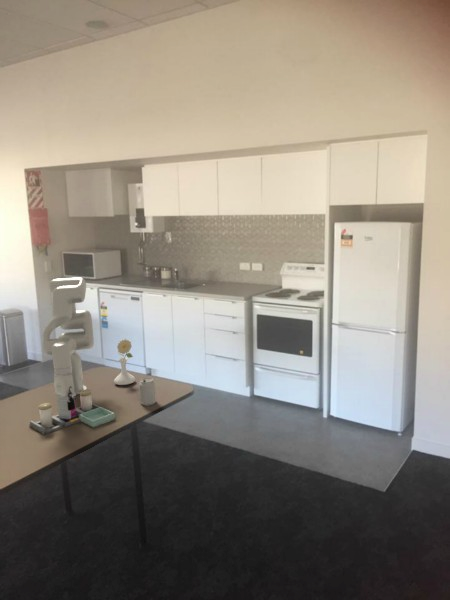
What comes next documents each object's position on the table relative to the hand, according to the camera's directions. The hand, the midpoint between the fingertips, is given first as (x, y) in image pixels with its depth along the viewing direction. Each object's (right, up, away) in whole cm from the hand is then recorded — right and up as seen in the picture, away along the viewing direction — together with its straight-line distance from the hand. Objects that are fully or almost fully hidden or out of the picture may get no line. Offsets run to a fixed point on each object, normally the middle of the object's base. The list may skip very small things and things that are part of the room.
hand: (66, 407), depth 227 cm
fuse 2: (+7, -4, +8) cm, 11 cm away
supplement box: (0, -5, +1) cm, 5 cm away
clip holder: (0, -6, +1) cm, 6 cm away
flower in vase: (+18, +3, +45) cm, 48 cm away
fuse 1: (-7, -7, -7) cm, 12 cm away
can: (+34, -2, +16) cm, 38 cm away
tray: (+14, -6, -1) cm, 15 cm away
